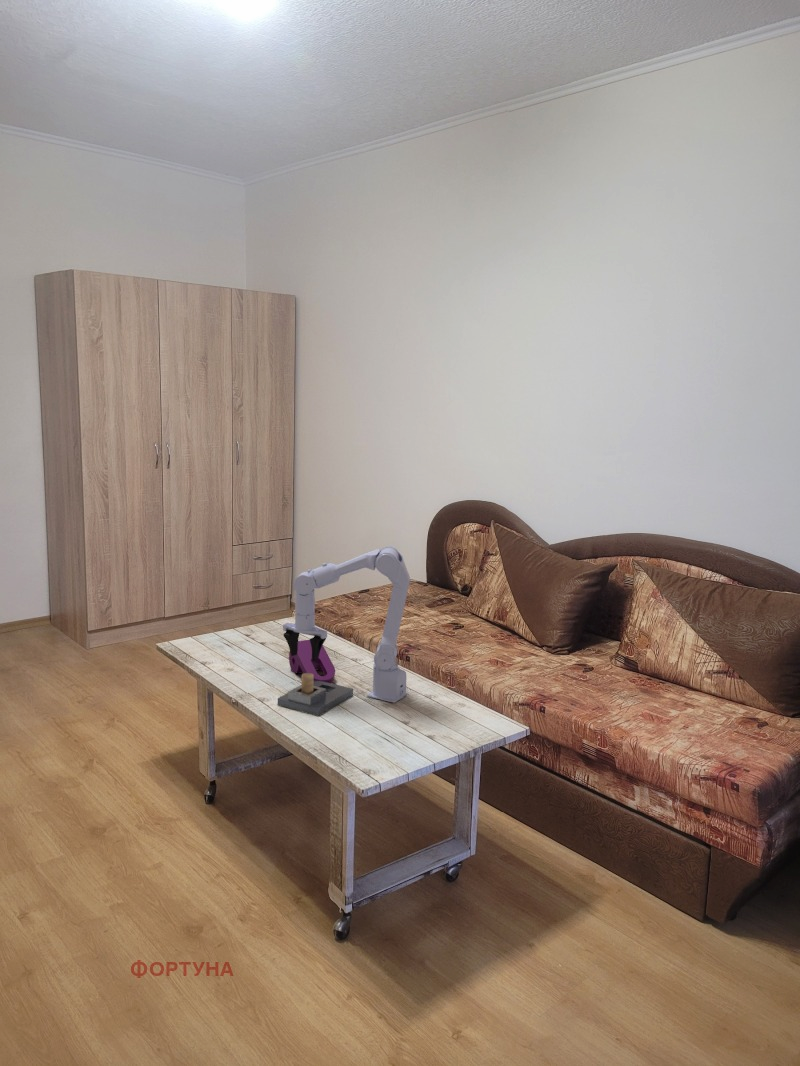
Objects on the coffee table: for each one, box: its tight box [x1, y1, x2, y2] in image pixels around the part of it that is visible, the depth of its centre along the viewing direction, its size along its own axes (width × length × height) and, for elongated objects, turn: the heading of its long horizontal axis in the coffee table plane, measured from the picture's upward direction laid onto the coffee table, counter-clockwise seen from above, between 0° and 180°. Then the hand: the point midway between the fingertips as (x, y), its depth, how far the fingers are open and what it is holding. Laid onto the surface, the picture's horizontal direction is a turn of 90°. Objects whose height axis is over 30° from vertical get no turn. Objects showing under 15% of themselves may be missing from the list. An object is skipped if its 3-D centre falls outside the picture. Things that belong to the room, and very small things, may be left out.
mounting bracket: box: [288, 639, 336, 683], centre depth 252 cm, size 9×8×18 cm
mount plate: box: [277, 680, 354, 716], centre depth 232 cm, size 14×18×4 cm
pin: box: [301, 673, 314, 695], centre depth 228 cm, size 3×3×9 cm
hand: (304, 657), depth 237 cm, fingers open, 7 cm apart
